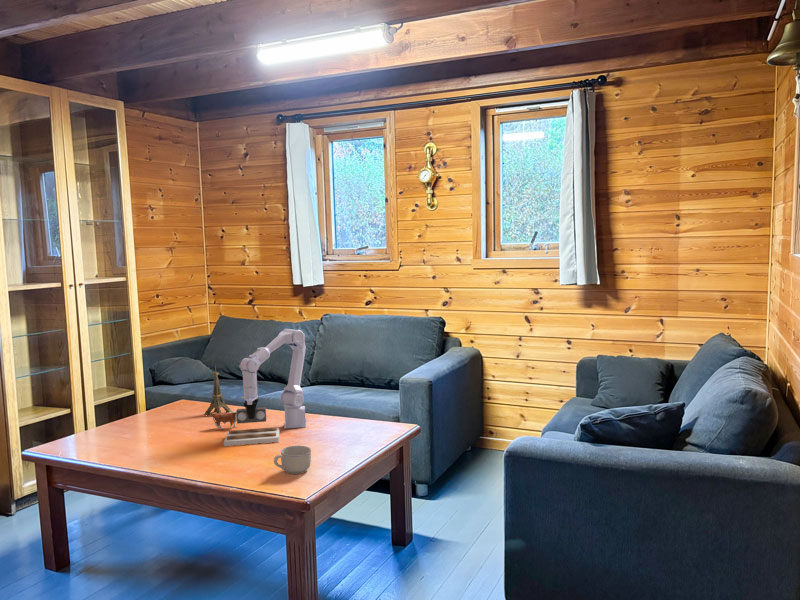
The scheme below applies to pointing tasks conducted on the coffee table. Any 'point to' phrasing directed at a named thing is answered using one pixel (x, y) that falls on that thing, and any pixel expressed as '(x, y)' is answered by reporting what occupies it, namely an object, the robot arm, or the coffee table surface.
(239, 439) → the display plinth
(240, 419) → the grey rectangular block
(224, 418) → the bull figurine
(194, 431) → the coffee table surface
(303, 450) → the teacup
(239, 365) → the robot arm
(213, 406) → the eiffel tower
